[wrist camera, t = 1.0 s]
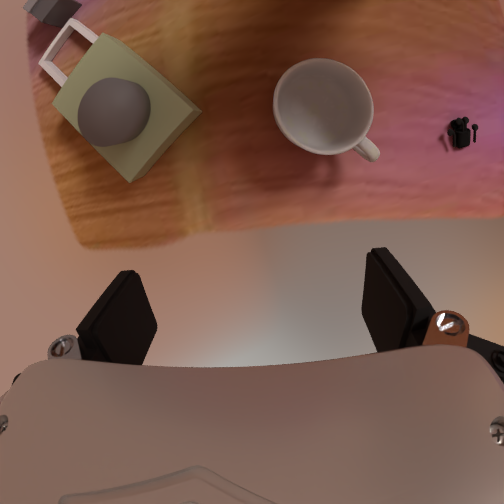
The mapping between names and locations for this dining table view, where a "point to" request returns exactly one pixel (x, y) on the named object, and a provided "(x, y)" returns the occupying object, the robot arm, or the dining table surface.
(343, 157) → the dining table surface
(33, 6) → the grey block
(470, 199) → the dining table surface
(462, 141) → the wireless earbuds
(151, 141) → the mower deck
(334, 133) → the teacup
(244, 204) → the dining table surface
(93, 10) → the dining table surface
